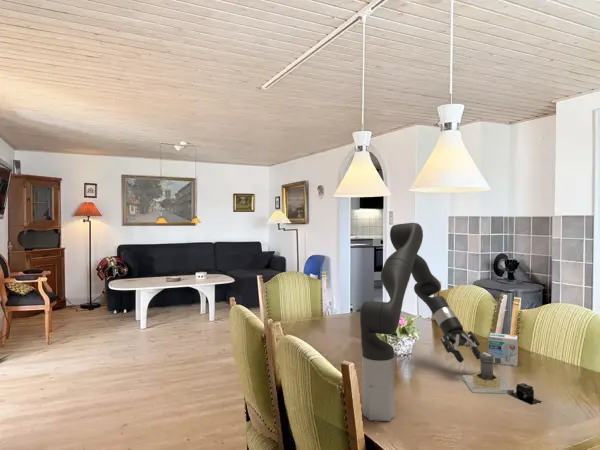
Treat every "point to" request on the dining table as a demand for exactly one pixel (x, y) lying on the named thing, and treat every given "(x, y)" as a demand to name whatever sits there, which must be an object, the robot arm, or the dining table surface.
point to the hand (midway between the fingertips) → (470, 359)
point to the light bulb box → (503, 348)
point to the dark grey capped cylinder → (486, 365)
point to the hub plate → (487, 384)
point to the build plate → (525, 394)
